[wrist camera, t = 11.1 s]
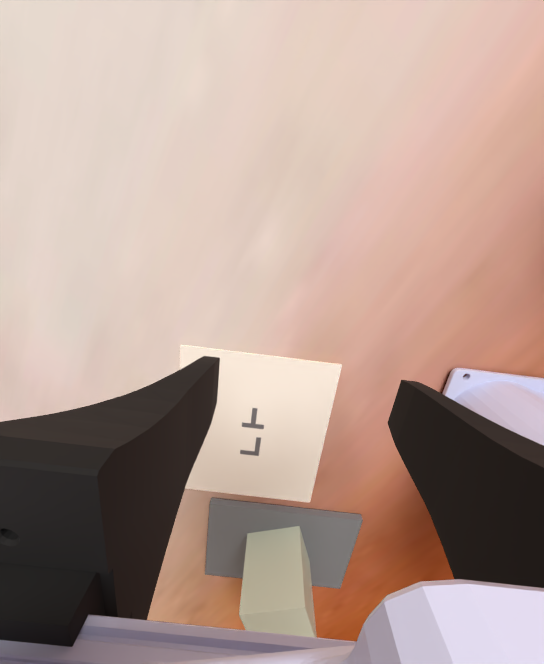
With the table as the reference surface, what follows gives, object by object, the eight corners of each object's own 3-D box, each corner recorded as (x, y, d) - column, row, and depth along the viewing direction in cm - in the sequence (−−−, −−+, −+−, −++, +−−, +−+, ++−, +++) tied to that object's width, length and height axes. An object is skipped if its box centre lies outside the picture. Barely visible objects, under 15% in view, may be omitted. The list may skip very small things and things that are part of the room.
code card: (341, 364, 21) (342, 365, 21) (309, 500, 26) (309, 503, 26) (180, 344, 21) (179, 345, 21) (178, 486, 26) (178, 488, 25)
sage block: (299, 525, 26) (305, 607, 20) (309, 560, 28) (317, 645, 22) (247, 533, 27) (238, 614, 21) (260, 567, 28) (255, 651, 23)
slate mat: (360, 514, 26) (362, 520, 26) (338, 581, 30) (340, 588, 29) (211, 497, 26) (209, 503, 25) (206, 567, 29) (205, 574, 29)
